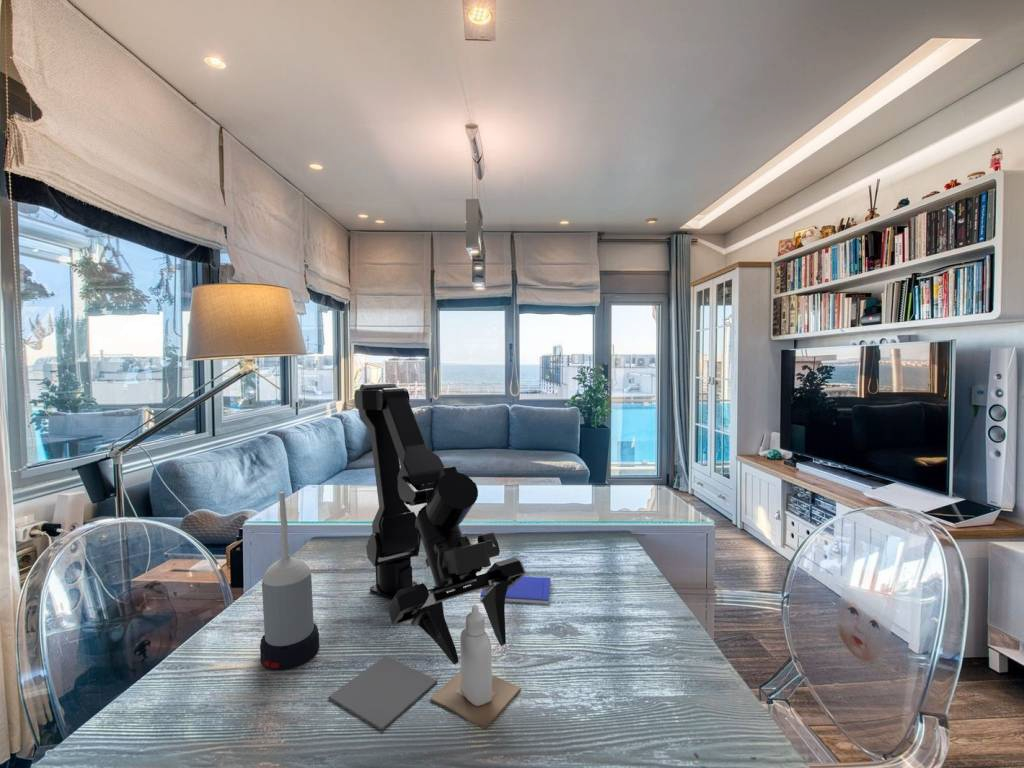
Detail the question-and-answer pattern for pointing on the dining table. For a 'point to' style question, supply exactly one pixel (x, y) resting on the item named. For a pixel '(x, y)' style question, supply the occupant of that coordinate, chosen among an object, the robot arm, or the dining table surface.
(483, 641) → the eye dropper bottle
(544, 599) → the hard drive
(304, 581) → the humidifier
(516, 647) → the dining table surface
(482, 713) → the board
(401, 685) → the mat
